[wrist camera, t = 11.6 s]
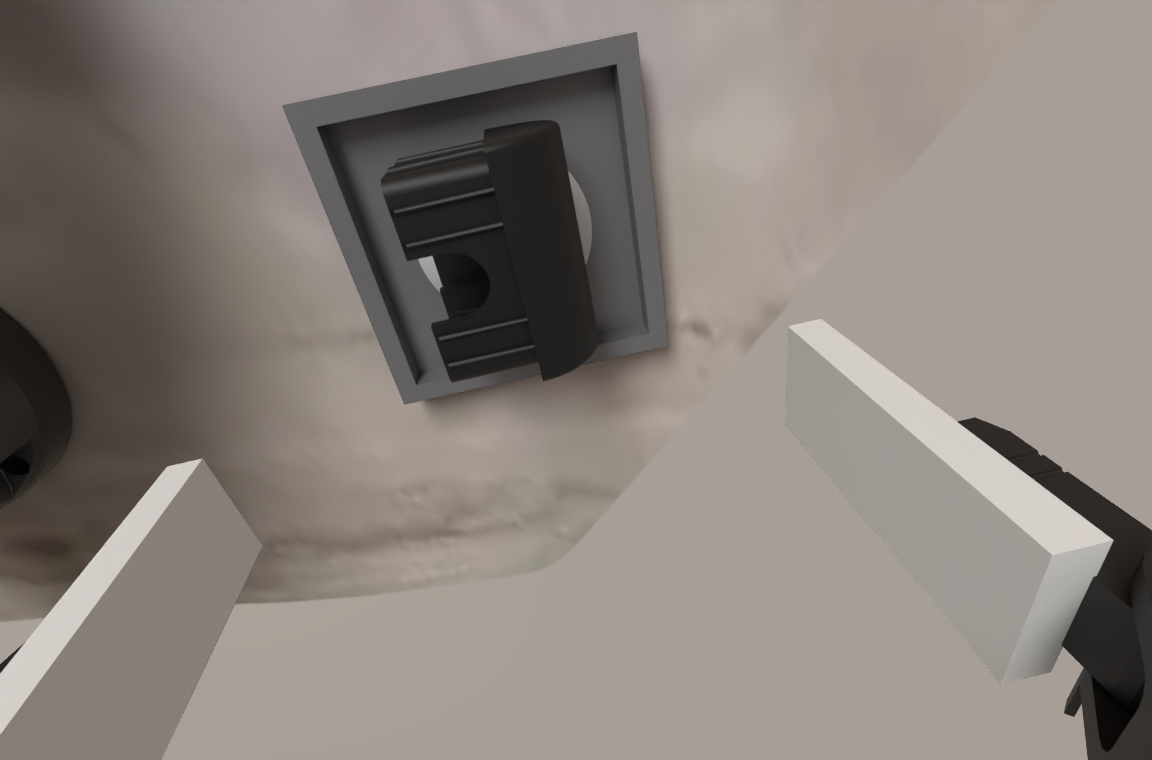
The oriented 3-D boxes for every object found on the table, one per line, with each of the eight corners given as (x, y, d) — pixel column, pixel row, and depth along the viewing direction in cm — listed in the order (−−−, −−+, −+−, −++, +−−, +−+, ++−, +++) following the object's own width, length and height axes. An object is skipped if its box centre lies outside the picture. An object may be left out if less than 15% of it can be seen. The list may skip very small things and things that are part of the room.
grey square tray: (409, 384, 32) (404, 404, 30) (298, 102, 24) (282, 105, 22) (658, 329, 32) (668, 345, 30) (625, 34, 25) (636, 32, 23)
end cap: (587, 310, 30) (610, 368, 24) (462, 339, 30) (455, 404, 24) (550, 112, 25) (567, 126, 19) (398, 146, 25) (370, 170, 19)
